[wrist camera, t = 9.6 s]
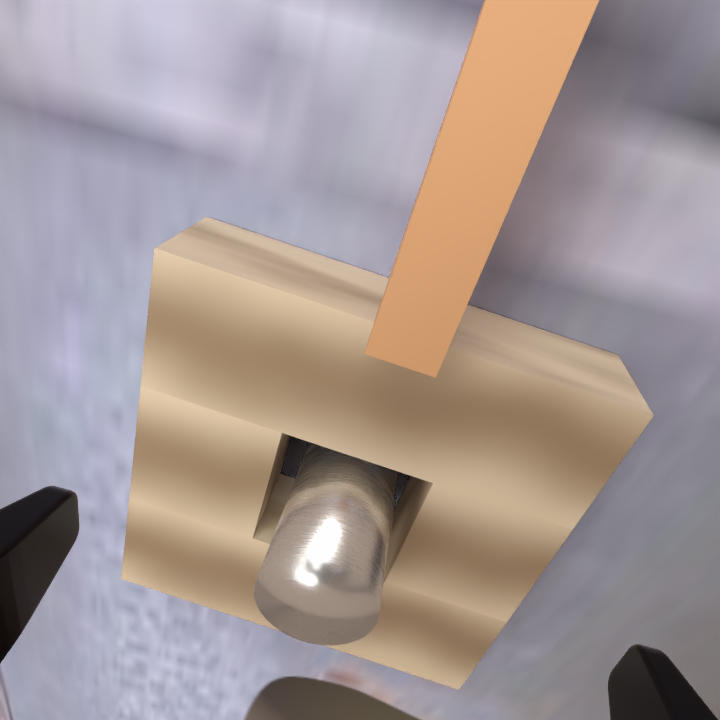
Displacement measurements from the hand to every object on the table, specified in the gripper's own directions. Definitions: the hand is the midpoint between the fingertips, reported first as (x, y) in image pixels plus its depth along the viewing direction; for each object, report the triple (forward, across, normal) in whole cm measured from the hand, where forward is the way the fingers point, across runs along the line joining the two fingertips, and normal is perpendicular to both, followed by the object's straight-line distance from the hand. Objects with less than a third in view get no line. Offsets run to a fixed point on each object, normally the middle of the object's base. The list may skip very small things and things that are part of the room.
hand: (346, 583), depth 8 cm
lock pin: (+9, -1, -6) cm, 11 cm away
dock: (+13, 0, +8) cm, 15 cm away
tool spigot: (+13, 0, +8) cm, 15 cm away
